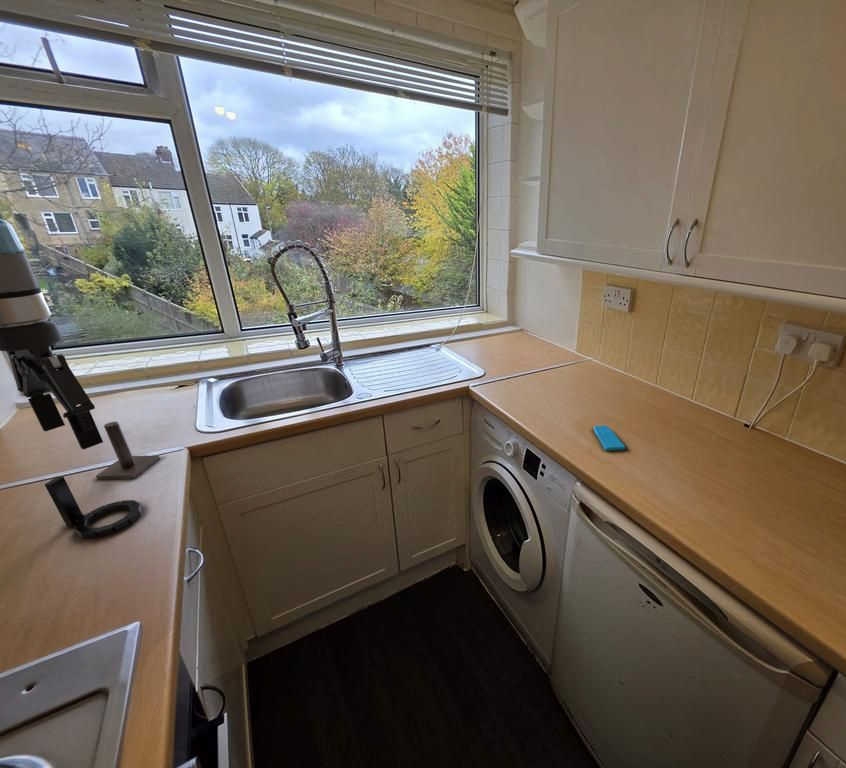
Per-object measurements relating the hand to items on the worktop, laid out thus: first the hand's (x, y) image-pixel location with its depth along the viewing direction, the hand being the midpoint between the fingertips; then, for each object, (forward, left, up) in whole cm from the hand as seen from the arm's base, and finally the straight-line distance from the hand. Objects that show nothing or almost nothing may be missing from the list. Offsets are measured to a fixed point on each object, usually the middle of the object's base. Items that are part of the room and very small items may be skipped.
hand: (72, 436), depth 73 cm
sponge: (+109, +26, -19) cm, 114 cm away
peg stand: (-9, +17, -19) cm, 27 cm away
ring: (0, -1, -19) cm, 19 cm away
